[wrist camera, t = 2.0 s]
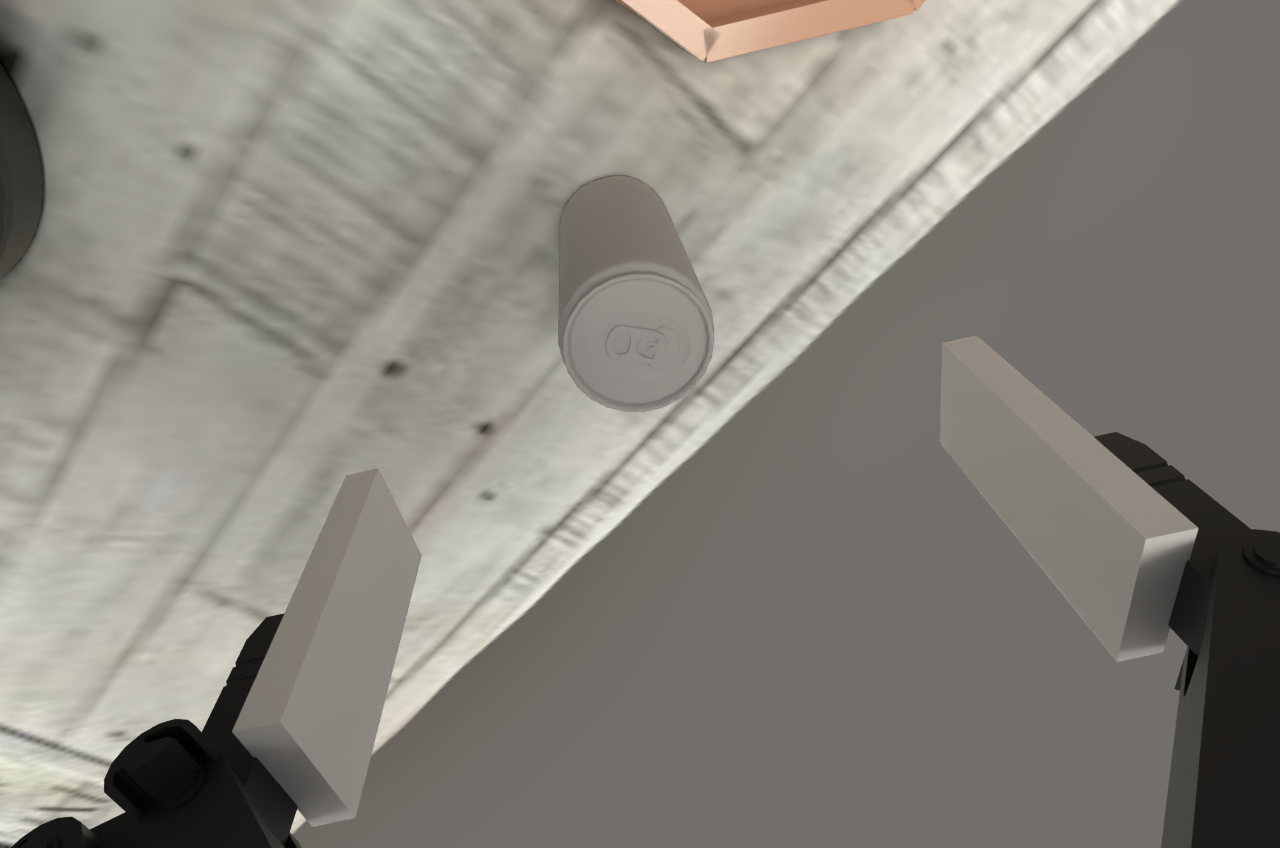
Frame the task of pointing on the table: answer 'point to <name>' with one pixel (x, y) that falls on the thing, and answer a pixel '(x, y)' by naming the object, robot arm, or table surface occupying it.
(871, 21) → the dish
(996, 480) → the robot arm
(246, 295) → the table surface
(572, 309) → the beverage can
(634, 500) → the table surface
